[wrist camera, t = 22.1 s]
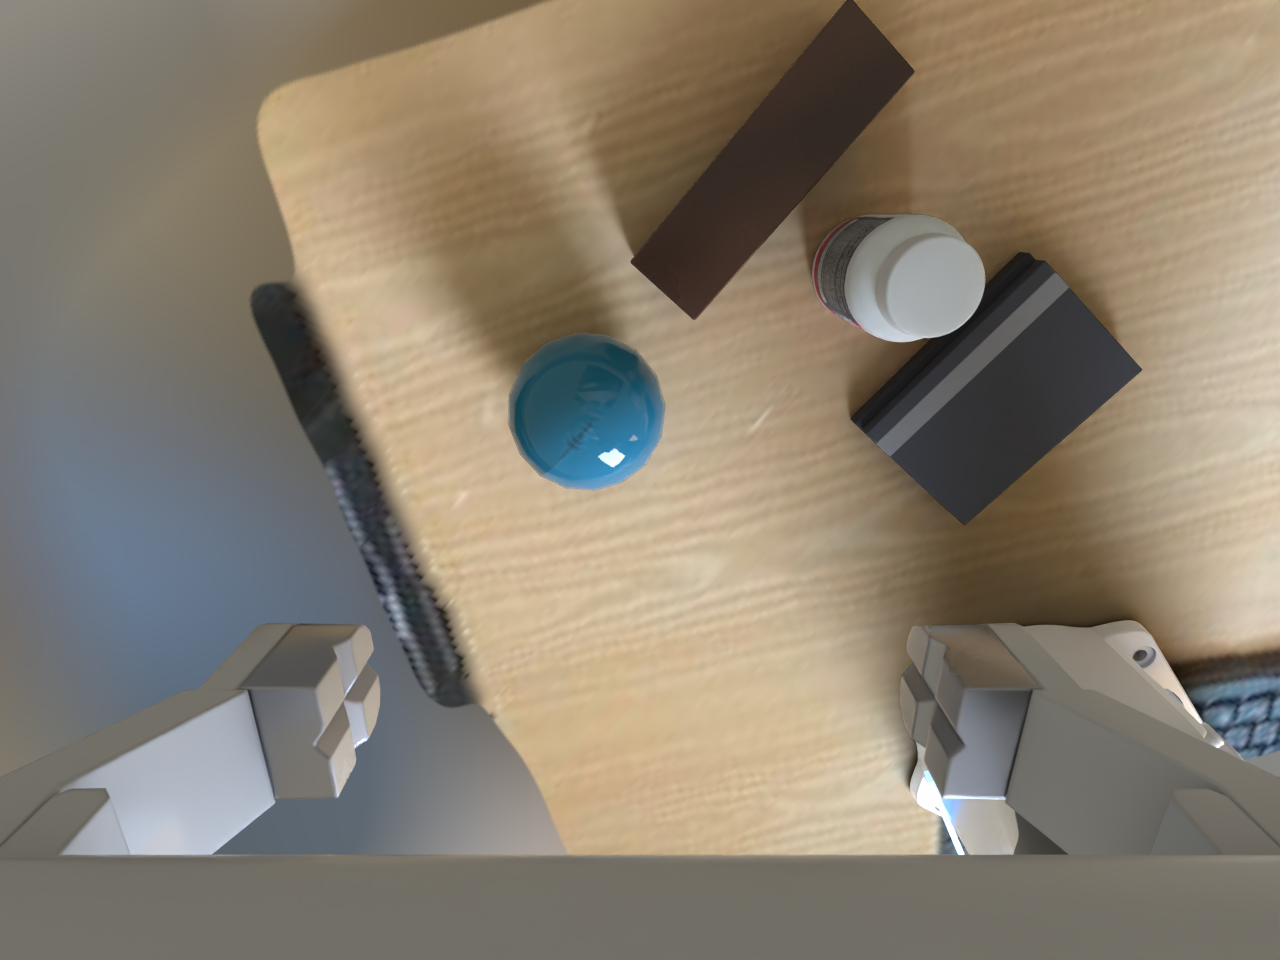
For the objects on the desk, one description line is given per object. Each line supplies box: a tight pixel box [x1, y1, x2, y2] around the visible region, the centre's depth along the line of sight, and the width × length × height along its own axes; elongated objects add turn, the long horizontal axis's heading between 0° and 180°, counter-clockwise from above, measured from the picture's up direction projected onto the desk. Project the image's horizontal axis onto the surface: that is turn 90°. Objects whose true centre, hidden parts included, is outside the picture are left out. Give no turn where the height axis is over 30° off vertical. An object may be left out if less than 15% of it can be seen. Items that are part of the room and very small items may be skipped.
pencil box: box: [631, 0, 915, 320], centre depth 33 cm, size 4×14×4 cm, turn 139°
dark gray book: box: [851, 252, 1142, 525], centre depth 38 cm, size 9×12×2 cm
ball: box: [508, 332, 666, 491], centre depth 35 cm, size 8×8×8 cm
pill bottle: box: [812, 214, 985, 342], centre depth 32 cm, size 5×5×10 cm
